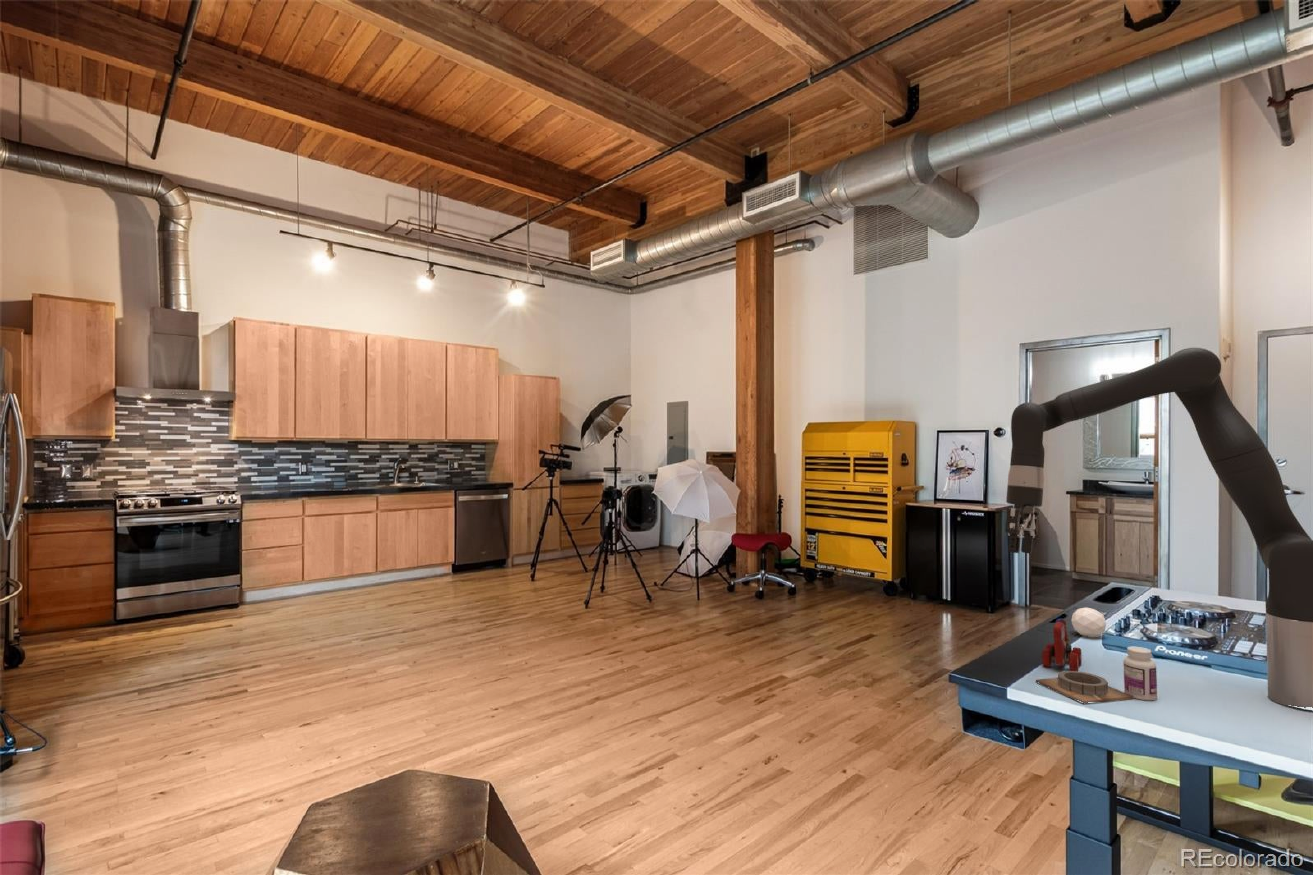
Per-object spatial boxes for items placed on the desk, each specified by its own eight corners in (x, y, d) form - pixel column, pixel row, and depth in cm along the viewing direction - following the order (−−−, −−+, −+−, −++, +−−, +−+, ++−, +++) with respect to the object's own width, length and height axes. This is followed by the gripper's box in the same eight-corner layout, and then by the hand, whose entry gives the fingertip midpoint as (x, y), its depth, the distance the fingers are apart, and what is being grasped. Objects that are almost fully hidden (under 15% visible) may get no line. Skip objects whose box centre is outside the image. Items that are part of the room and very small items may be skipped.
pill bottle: (1145, 691, 131) (1144, 645, 131) (1163, 701, 126) (1162, 653, 126) (1118, 690, 131) (1117, 644, 132) (1135, 700, 126) (1133, 653, 126)
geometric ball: (1079, 645, 169) (1059, 618, 173) (1103, 633, 171) (1081, 606, 175) (1095, 639, 163) (1073, 611, 167) (1119, 626, 164) (1097, 599, 168)
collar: (1081, 677, 139) (1081, 666, 139) (1133, 699, 127) (1133, 686, 127) (1035, 682, 136) (1035, 670, 136) (1084, 704, 124) (1083, 691, 124)
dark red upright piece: (1083, 661, 149) (1082, 618, 149) (1076, 676, 140) (1075, 630, 140) (1049, 655, 154) (1048, 613, 154) (1040, 669, 144) (1039, 624, 144)
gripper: (1032, 484, 143) (1027, 555, 142) (1052, 489, 153) (1047, 555, 151) (997, 482, 149) (992, 550, 148) (1018, 486, 158) (1013, 550, 157)
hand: (1020, 552), depth 150 cm, fingers open, 8 cm apart
